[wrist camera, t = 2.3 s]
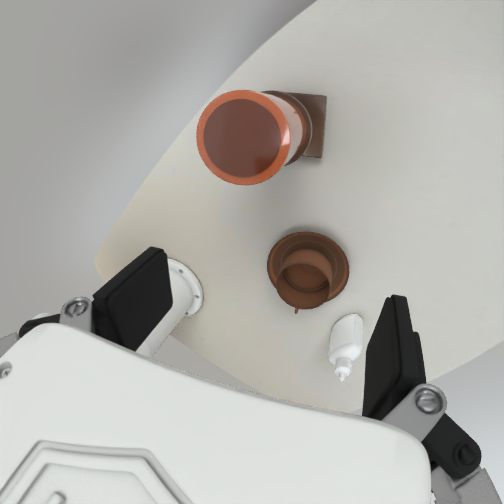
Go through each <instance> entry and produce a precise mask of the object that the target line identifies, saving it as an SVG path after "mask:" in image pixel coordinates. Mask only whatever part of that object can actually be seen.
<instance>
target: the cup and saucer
mask: <svg viewBox="0 0 504 504" xmlns="http://www.w3.org/2000/svg"><path fill="white" fill-rule="evenodd" d="M267 271H268V275H269V278H270V280H271V282H272V284H273V285H274V287H275V288H276V289H277V292H278V294H279V296H280V297H281V298H282V300H283V301H285V302H286V303H287V304H289V305H290V306H292V307H295V308H296V309H295V314H297V313H298V310H299V309H313V308H316V307H319V306H320V305H322V304H323V303H324V302H327V301H330V300H331V299H333V298H335V297H336V296H337V295H339V294H340V293H341V291H342V290H343V289H344V287H345V286H346V284H347V281H348V277H349V265H348V261H347V258H346V256H345V254H344V252H343V250H342V249H341V248H340V247H339V246H338V245H337V244H336V243H335V242H334V241H333V240H331V239H330V238H328V237H326V236H324V235H321V234H319V233H314V232H297V233H293V234H290V235H288V236H286V237H284V238H282V239H281V240H280V241H278V242H277V243H276V244H275V245H274V247H273V248H272V250H271V252H270V254H269V256H268V261H267Z"/></svg>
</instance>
